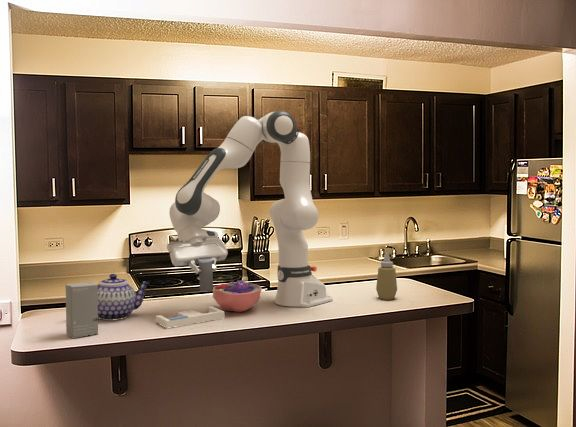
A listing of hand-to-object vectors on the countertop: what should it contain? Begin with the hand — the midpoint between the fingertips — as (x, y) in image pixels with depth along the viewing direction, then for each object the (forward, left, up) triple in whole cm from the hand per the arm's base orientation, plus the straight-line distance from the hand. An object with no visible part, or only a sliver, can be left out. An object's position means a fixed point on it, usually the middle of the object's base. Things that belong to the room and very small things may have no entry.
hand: (206, 271), depth 202 cm
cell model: (-14, -4, -16) cm, 22 cm away
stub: (0, -1, -6) cm, 6 cm away
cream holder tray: (+6, -1, -16) cm, 17 cm away
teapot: (+25, -21, -16) cm, 37 cm away
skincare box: (+40, -6, -16) cm, 44 cm away
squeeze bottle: (-70, +15, -16) cm, 73 cm away
